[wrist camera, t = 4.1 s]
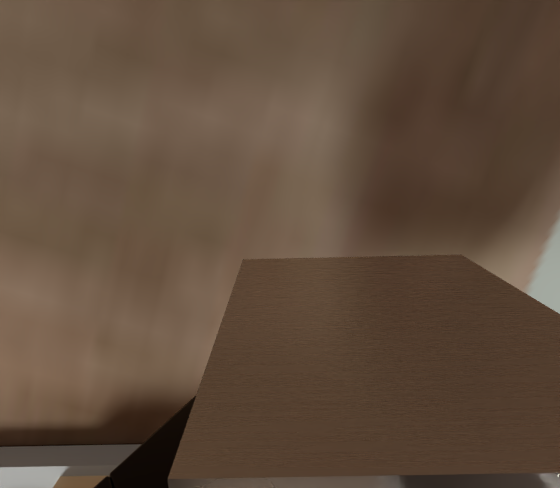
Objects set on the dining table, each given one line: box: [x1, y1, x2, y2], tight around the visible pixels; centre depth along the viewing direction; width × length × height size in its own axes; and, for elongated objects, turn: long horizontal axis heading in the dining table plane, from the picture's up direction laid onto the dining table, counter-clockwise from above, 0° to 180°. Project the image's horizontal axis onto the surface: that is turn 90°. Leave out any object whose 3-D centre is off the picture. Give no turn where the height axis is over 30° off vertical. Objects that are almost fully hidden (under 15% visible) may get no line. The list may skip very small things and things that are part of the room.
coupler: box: [168, 255, 560, 488], centre depth 6 cm, size 5×5×7 cm
